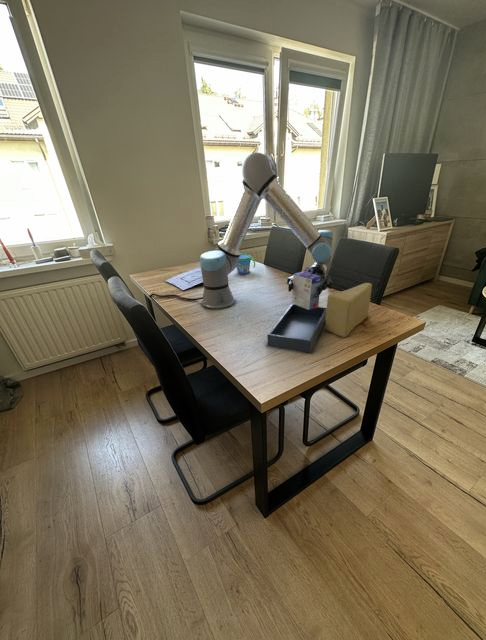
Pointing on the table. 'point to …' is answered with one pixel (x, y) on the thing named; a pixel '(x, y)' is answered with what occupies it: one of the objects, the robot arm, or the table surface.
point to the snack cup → (244, 264)
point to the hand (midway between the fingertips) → (304, 289)
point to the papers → (187, 279)
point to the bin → (297, 328)
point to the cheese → (347, 309)
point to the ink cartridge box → (306, 289)
